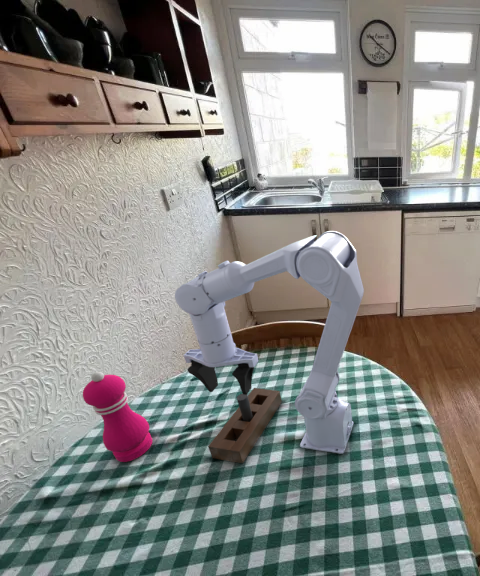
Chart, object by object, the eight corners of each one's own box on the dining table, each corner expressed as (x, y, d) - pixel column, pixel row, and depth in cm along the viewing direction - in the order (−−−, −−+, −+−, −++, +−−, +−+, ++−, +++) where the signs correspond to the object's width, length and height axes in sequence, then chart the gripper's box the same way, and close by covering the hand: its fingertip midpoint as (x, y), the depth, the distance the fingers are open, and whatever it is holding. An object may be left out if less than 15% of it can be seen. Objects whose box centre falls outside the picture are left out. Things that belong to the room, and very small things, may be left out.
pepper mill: (133, 467, 61) (91, 389, 53) (103, 461, 62) (57, 384, 54) (163, 436, 67) (130, 362, 59) (136, 431, 69) (99, 358, 60)
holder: (282, 401, 76) (279, 390, 75) (242, 463, 62) (239, 451, 60) (256, 398, 77) (253, 387, 76) (212, 458, 63) (207, 446, 61)
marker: (257, 424, 70) (249, 393, 66) (252, 431, 68) (243, 401, 64) (248, 422, 70) (240, 392, 67) (243, 430, 69) (234, 399, 65)
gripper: (260, 326, 63) (271, 379, 68) (193, 322, 64) (210, 374, 70) (241, 347, 56) (255, 403, 62) (168, 342, 58) (189, 397, 64)
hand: (230, 389), depth 66 cm, fingers open, 7 cm apart
